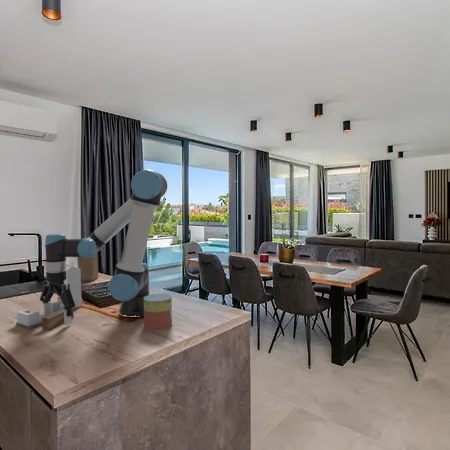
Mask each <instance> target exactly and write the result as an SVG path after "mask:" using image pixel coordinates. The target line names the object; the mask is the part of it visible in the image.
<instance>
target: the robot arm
mask: <svg viewBox="0 0 450 450" xmlns="http://www.w3.org/2000/svg"><path fill="white" fill-rule="evenodd" d="M130 182H131V183H130V188H131V191H132V192H131V197H130V198H129V199H127V200H126V202H124V203H123V204H122V205H121V206H120V207H118V209H117V210H115V212H114V213H112V214H111V215H110V216H109V217H108V218H107V219H106V220H105V221H104V222H102V223H101V224H100V225H99V226H98V227H97V228H96V229H95V230H94V231H92V232H91V233H90V234H89V235H88V236H86V237H84V238H70V239H69V238H67V237H66V234H65V233H49V234H47V235H46V236H45V241H44V243H45V245H44V246H45V271H46V272H45V281H43V288H42V291H41V295H40V298H39V301H40V302H42V304H43V314H44V317H45V316H47V315H49V314H51V303H52V302H51V299H52V297H54V294H55V295H57V296H58V297H59V298H60V301H62V303H63V305H64V307H65V308H64V323H63V325H64V326H67V325H70V324H72V319H71V315H72V314H71V312H72V311H71V309H72V308H73V307H75V303H74V300H73V297H72V294H71V291H70V285H69V284H65V280H66V271H65V270H66V267H67V258H77V257H83V258H86V257H93V256H94V254H95V253H96V252H100V251H101V250H103V248H104V247H105V245H106V244H107V243H108V242H109V241H110V240H111V239H112V238H113V237H114V236H115V235H117V234H118V233H119V232H120V231H121V230H123V228H124V227H126V225H128V227H127V228H128V229H127V232H126V238H125V241H124V246H123V251H122V255H121V260H120V262H118V263H116V265H115V270H114V274H113V276H112V277H111V278H110V280H109V282H108V291H109V294H110V295H111V297H112V298H113V299H115V300H117V301H119V302H121V304H120V307H119V310H118V314H119V313H120V314H121V315H127V316H135V315H136V316H143V317H142V318H144V299H143V298H144V297H145V296H148V295H150V269H149V264H148V263H146V262H144V258H145V253H146V249H147V244H148V241H149V235H150V231H151V227H152V222H153V218H154V213H155V210H156V209H157V208H159V206H161V205H160V204H161V200H162V197H163V196H165V195H166V193H167V191H168V181H167V179H166V178H165V176H164V175H162V174H161V173H159V172H157V171H156V170H153V169H142V170H140V171H138V172H136V173H135V174H134V176H133V177H132V179H131V181H130ZM67 305H68V306H67ZM73 309H74V308H73Z"/></svg>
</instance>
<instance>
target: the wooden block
mask: <svg viewBox="0 0 450 450" xmlns="http://www.w3.org/2000/svg"><path fill="white" fill-rule="evenodd" d="M98 252H99V251H98ZM98 252H96V253H95V254H94V256H93V257H86V258H83V257H76V258H77V267H78V268H80V272H81V282H94V281H95V280H97V279H98V278H99V259H98V258H99V256H98Z"/></svg>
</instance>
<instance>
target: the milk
mask: <svg viewBox="0 0 450 450" xmlns="http://www.w3.org/2000/svg"><path fill="white" fill-rule="evenodd" d="M65 271H66V280H64V284H69V285H70V291H71V294H72V297H73V300H74V303H75V307H73V309H77V308H81V307H80V306H81V305H83V304H82V281H81V272H80V268H78V266H76V265H75V264H74V262H73V261H70V264H69V265H68V266H67V265H66V270H65Z"/></svg>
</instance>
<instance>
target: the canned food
mask: <svg viewBox="0 0 450 450" xmlns="http://www.w3.org/2000/svg"><path fill="white" fill-rule="evenodd" d="M143 299H144V317H143V329H144V330H145V331H148V332H165V331H166V330H169V329H171V328H172V327H173V317H172V316H173V313H172V310H173V309H172V306H173V305H172V304H173V303H172V302H173V301H172V299H173V296H172V295H171V294H168V293H153V294H149V295H148V296H145V297H144V298H143Z"/></svg>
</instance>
